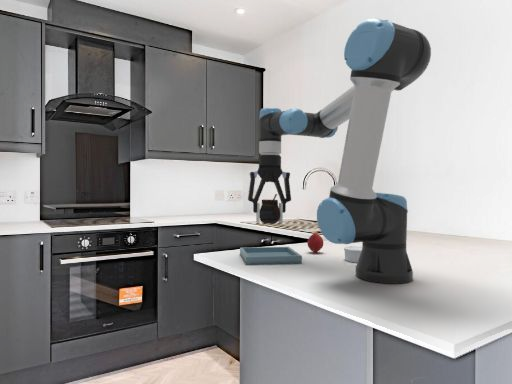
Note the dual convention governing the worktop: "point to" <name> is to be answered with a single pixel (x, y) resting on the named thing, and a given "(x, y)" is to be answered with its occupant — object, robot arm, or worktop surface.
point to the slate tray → (270, 255)
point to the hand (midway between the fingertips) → (269, 222)
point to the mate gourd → (270, 211)
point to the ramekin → (352, 253)
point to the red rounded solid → (315, 242)
